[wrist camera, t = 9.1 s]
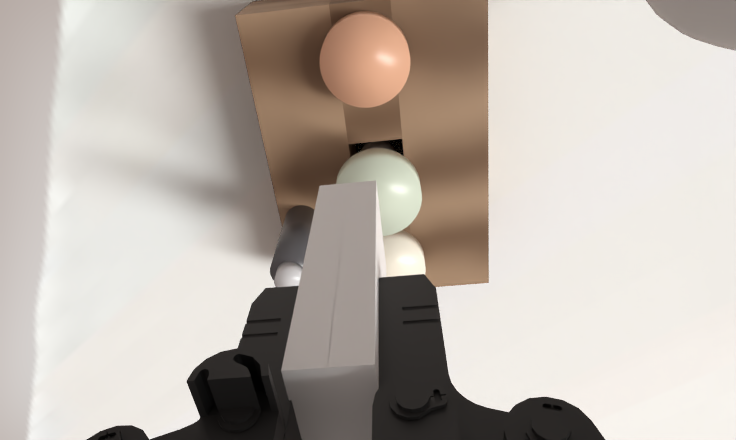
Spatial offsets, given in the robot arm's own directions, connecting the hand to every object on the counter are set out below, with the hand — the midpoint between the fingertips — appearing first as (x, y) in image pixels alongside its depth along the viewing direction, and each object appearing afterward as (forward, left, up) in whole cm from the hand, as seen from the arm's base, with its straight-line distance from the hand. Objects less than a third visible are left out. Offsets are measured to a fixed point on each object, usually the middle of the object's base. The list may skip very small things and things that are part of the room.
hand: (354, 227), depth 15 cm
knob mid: (+7, 0, -21) cm, 22 cm away
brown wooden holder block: (+7, 0, -24) cm, 25 cm away
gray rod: (+11, -6, -19) cm, 23 cm away
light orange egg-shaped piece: (0, 0, -24) cm, 24 cm away
